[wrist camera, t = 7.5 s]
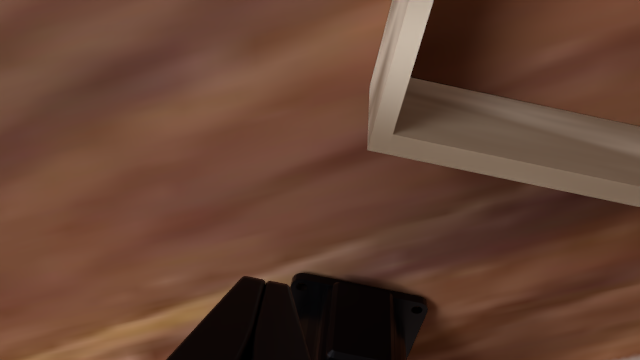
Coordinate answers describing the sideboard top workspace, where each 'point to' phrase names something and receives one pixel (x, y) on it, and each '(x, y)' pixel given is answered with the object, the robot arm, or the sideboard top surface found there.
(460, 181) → the sideboard top surface
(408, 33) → the cubby
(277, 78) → the sideboard top surface
